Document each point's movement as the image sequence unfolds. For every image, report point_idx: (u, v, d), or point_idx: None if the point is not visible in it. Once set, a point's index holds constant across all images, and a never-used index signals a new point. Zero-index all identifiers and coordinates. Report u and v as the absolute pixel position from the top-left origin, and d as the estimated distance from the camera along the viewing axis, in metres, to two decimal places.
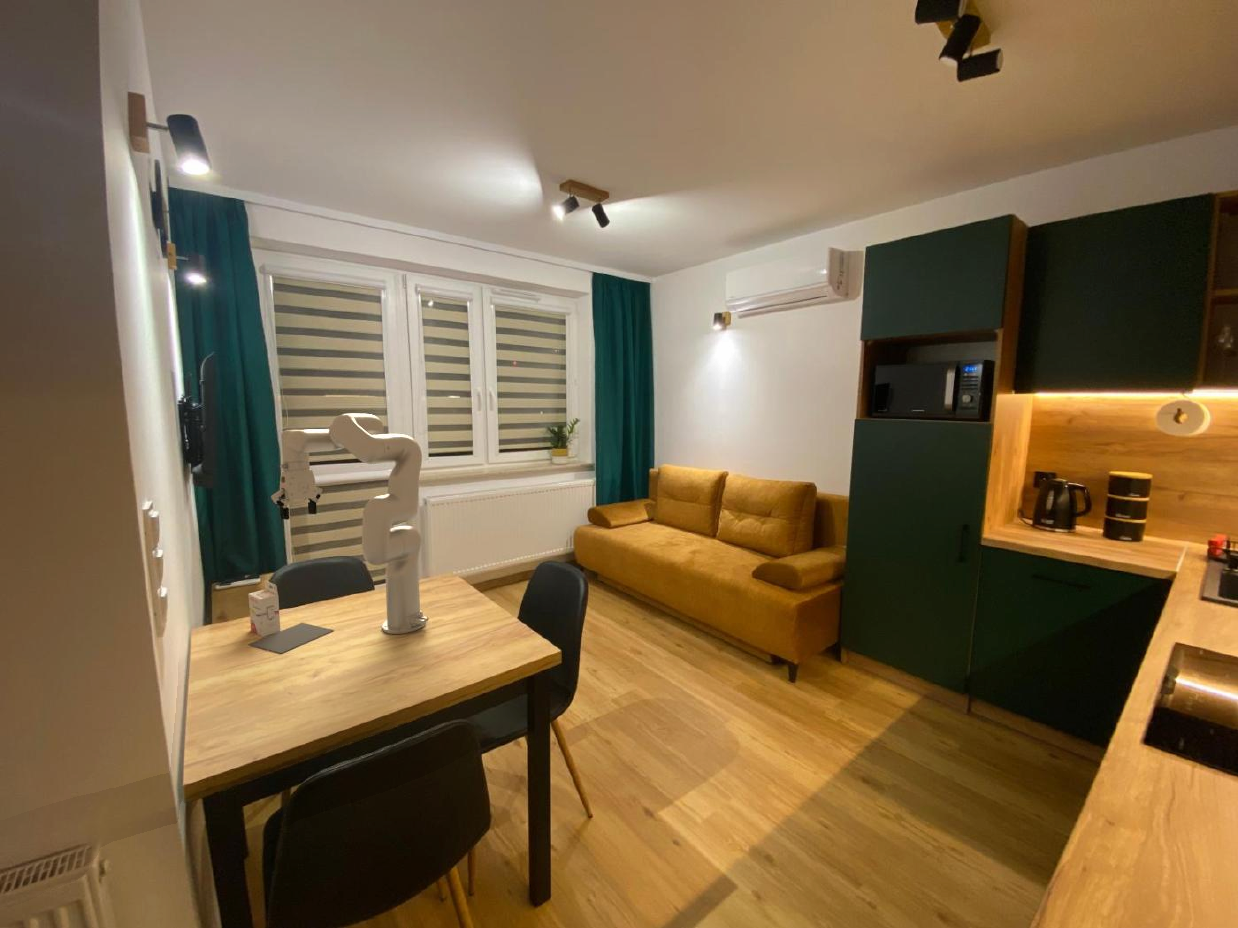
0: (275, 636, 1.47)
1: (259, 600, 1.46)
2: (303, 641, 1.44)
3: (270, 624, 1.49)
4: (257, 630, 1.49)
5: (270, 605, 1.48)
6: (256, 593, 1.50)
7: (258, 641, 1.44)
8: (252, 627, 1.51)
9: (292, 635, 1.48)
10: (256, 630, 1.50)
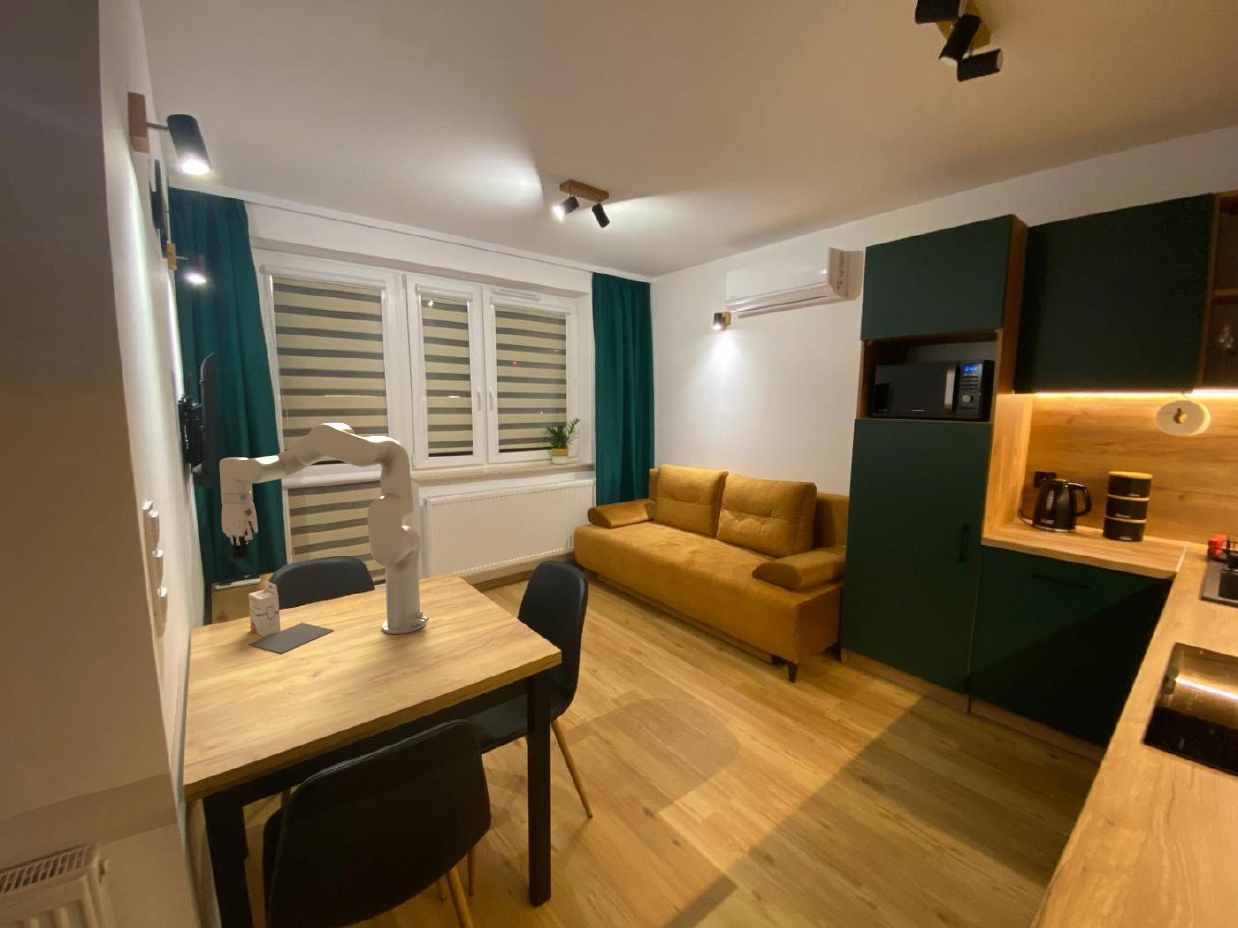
0: (275, 636, 1.47)
1: (259, 600, 1.46)
2: (303, 641, 1.44)
3: (270, 624, 1.49)
4: (257, 630, 1.49)
5: (270, 605, 1.48)
6: (256, 593, 1.50)
7: (258, 641, 1.44)
8: (252, 627, 1.51)
9: (292, 635, 1.48)
10: (256, 630, 1.50)
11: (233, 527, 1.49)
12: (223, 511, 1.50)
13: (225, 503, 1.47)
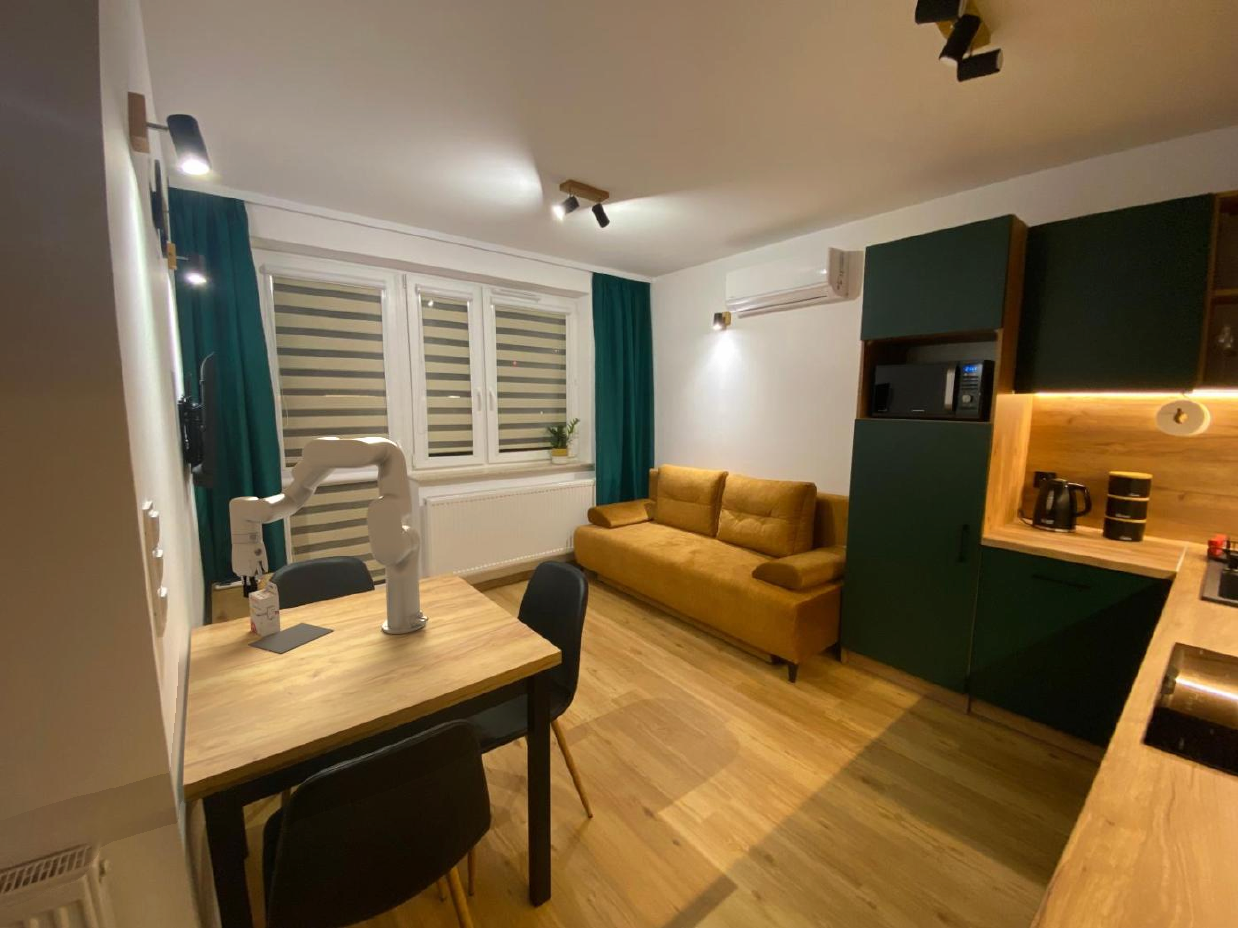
0: (275, 636, 1.47)
1: (259, 600, 1.46)
2: (303, 641, 1.44)
3: (270, 624, 1.49)
4: (257, 630, 1.49)
5: (270, 605, 1.48)
6: (256, 593, 1.50)
7: (258, 641, 1.44)
8: (252, 627, 1.51)
9: (292, 635, 1.48)
10: (256, 630, 1.50)
11: (243, 567, 1.49)
12: (233, 551, 1.50)
13: (235, 544, 1.47)
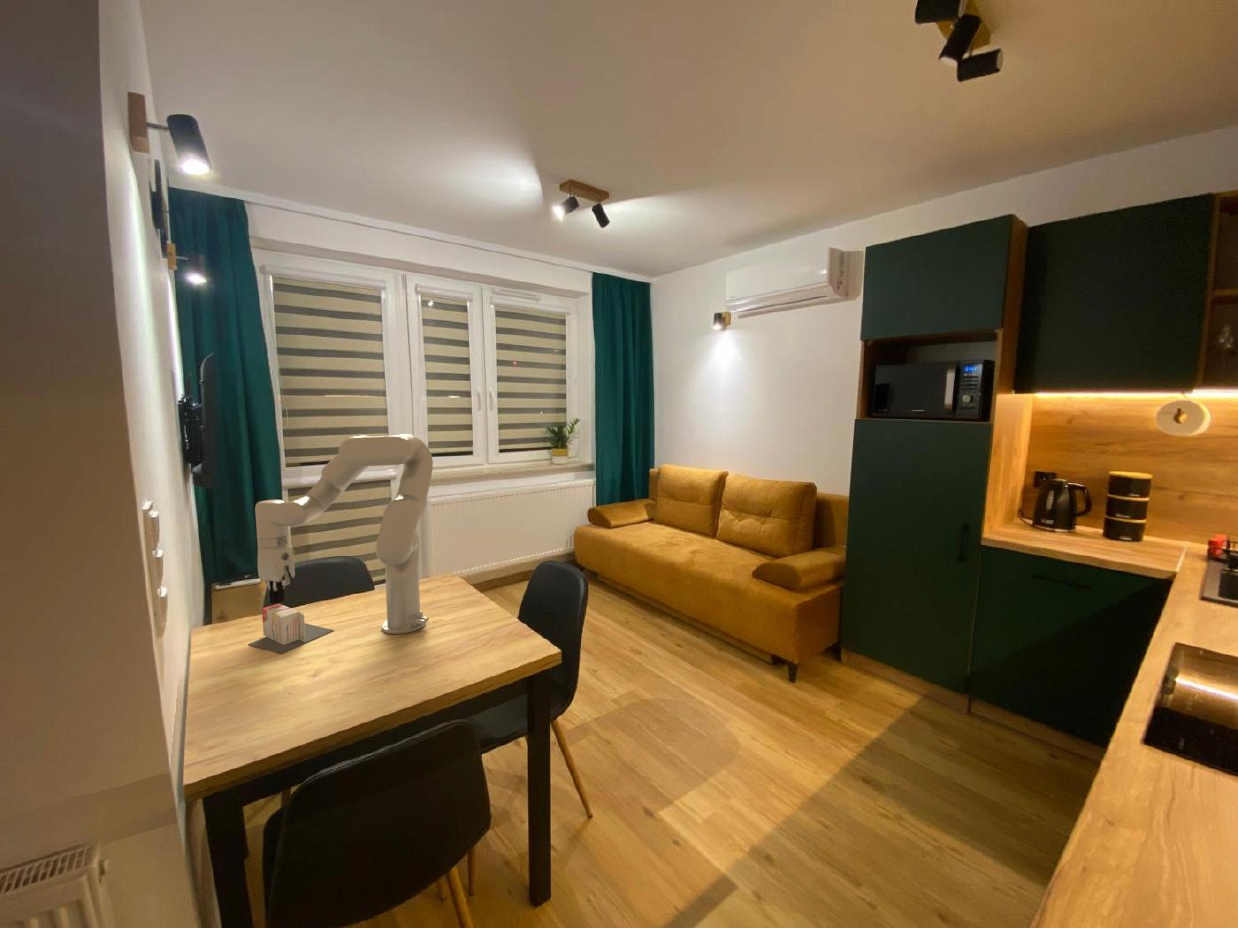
0: None
1: (282, 642, 1.41)
2: (303, 641, 1.44)
3: None
4: (264, 623, 1.46)
5: None
6: (287, 624, 1.42)
7: (258, 641, 1.44)
8: (263, 613, 1.46)
9: None
10: (263, 621, 1.46)
11: (270, 572, 1.44)
12: (259, 555, 1.46)
13: (262, 548, 1.43)
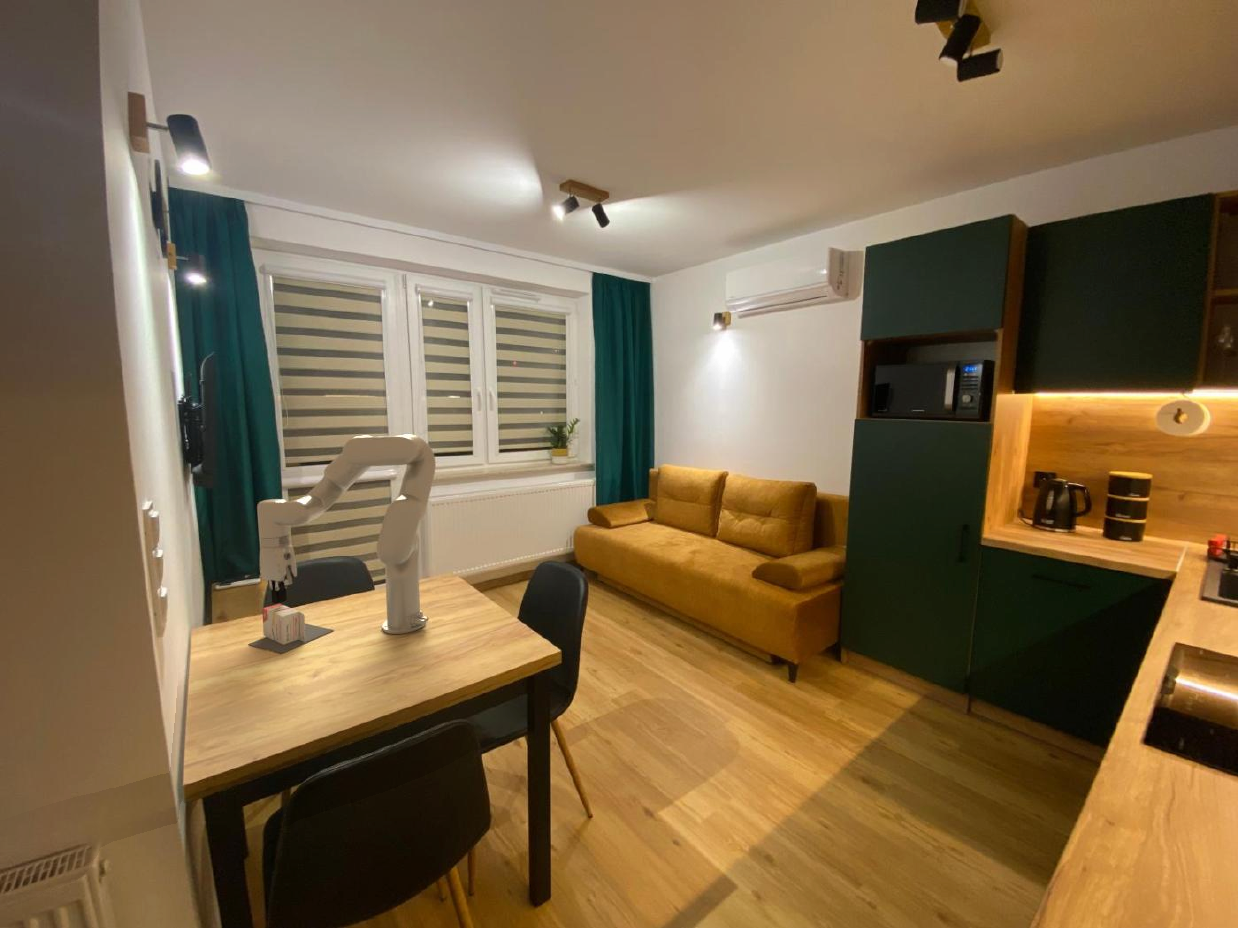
0: None
1: (282, 642, 1.41)
2: (303, 641, 1.44)
3: None
4: (264, 623, 1.46)
5: None
6: (287, 623, 1.42)
7: (258, 641, 1.44)
8: (264, 613, 1.46)
9: None
10: (264, 621, 1.46)
11: (272, 572, 1.44)
12: (261, 555, 1.45)
13: (264, 548, 1.42)
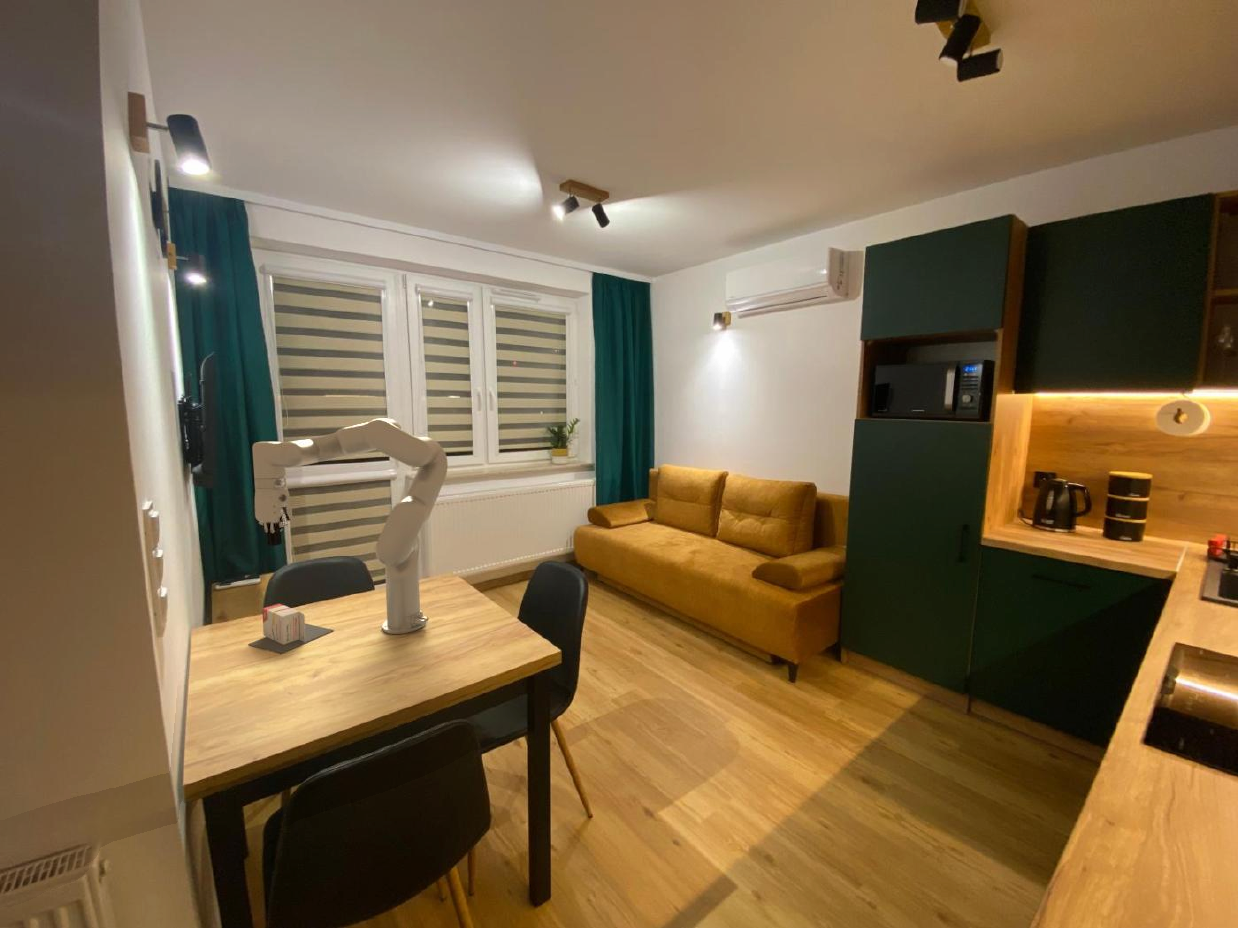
0: None
1: (282, 642, 1.41)
2: (303, 641, 1.44)
3: None
4: (264, 623, 1.46)
5: None
6: (287, 623, 1.42)
7: (258, 641, 1.44)
8: (264, 613, 1.46)
9: None
10: (264, 621, 1.46)
11: (267, 513, 1.44)
12: (256, 497, 1.45)
13: (259, 489, 1.42)
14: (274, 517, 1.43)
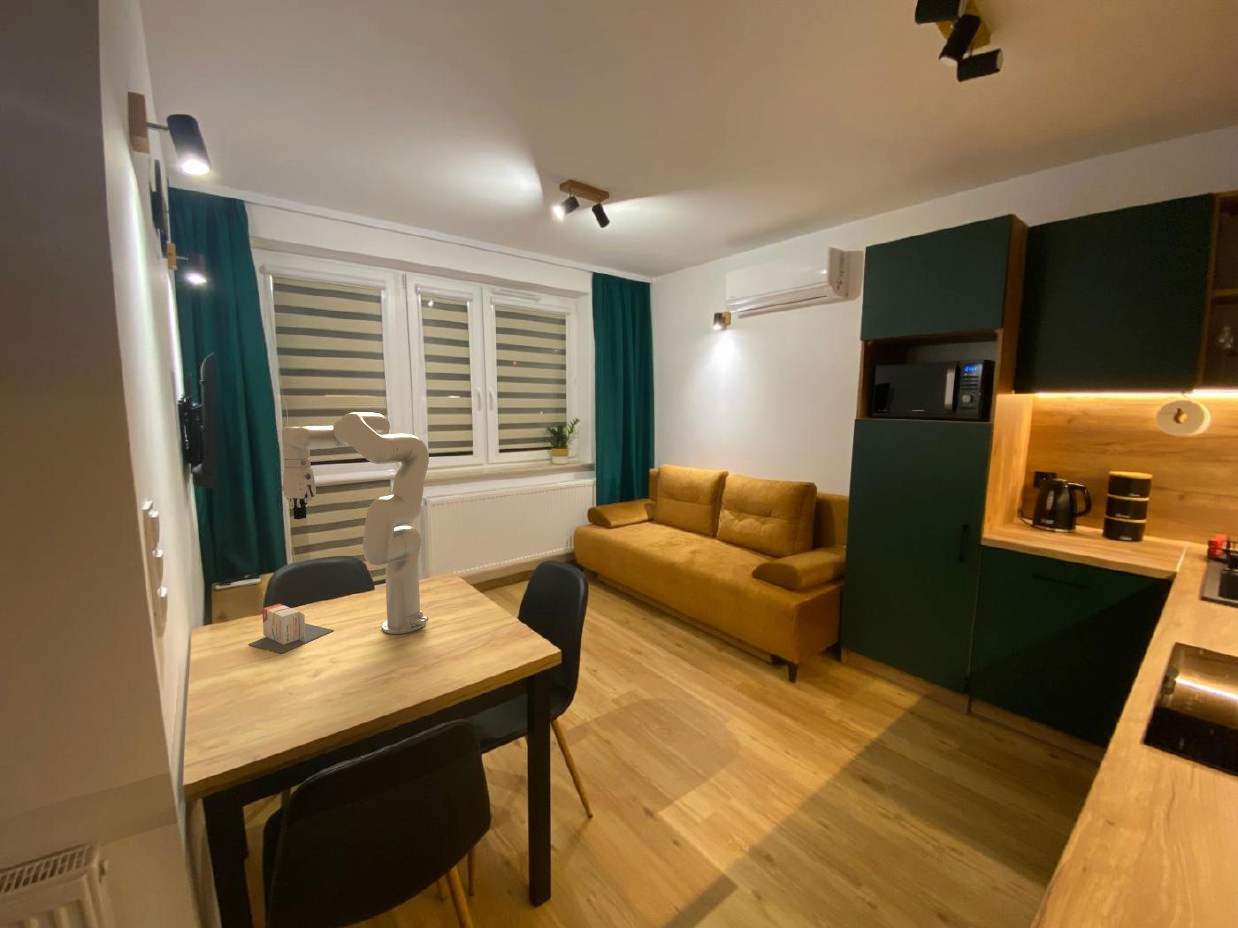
0: None
1: (282, 642, 1.41)
2: (303, 641, 1.44)
3: None
4: (264, 623, 1.46)
5: None
6: (287, 623, 1.42)
7: (258, 641, 1.44)
8: (264, 613, 1.46)
9: None
10: (264, 621, 1.46)
11: (294, 490, 1.63)
12: (285, 476, 1.64)
13: (287, 468, 1.61)
14: (300, 493, 1.62)
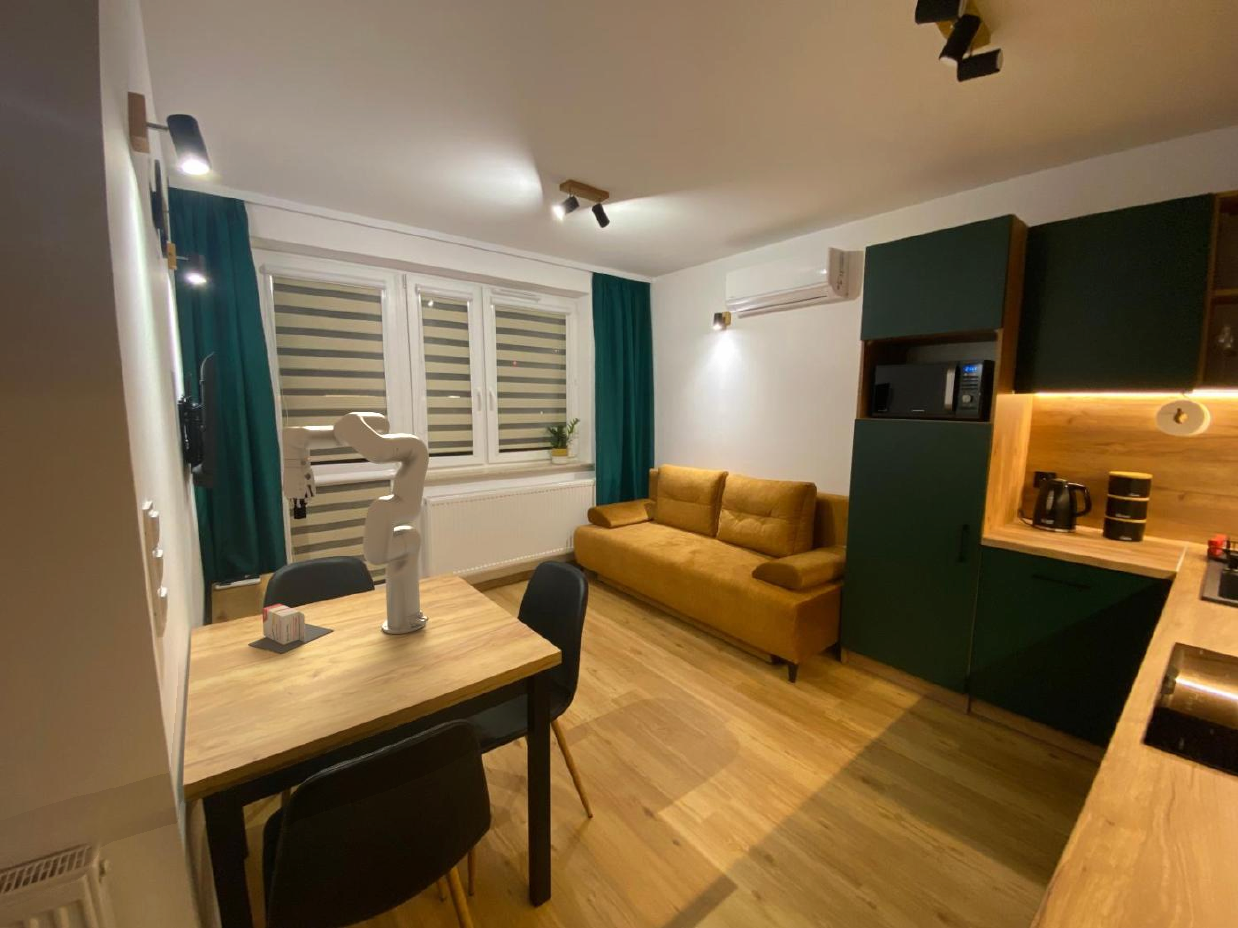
0: None
1: (282, 642, 1.41)
2: (303, 641, 1.44)
3: None
4: (264, 623, 1.46)
5: None
6: (287, 623, 1.42)
7: (258, 641, 1.44)
8: (264, 613, 1.46)
9: None
10: (264, 621, 1.46)
11: (294, 490, 1.63)
12: (285, 476, 1.64)
13: (287, 468, 1.61)
14: (300, 493, 1.62)
